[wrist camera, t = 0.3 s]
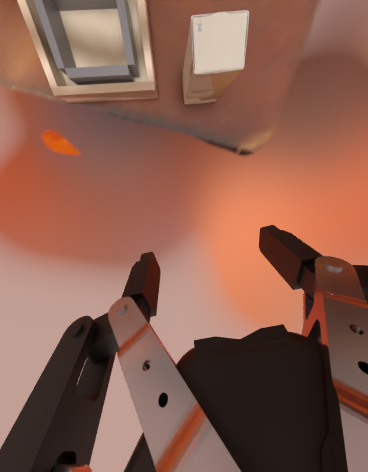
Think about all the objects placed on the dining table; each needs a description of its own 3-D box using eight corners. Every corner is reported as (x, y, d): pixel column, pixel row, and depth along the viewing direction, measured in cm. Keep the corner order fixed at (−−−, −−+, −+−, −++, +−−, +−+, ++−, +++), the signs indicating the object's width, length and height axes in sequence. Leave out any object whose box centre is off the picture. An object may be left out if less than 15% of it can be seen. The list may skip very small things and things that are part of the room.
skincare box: (184, 105, 27) (190, 75, 17) (181, 72, 25) (187, 13, 14) (217, 101, 27) (245, 69, 17) (218, 68, 25) (250, 7, 14)
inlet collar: (48, -1, 20) (21, -33, 16) (127, -4, 20) (118, -37, 17) (77, 89, 24) (61, 78, 21) (141, 85, 25) (136, 74, 21)
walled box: (29, -12, 20) (-1, -47, 16) (144, -17, 20) (138, -52, 17) (70, 103, 26) (54, 95, 22) (157, 98, 26) (155, 89, 23)
